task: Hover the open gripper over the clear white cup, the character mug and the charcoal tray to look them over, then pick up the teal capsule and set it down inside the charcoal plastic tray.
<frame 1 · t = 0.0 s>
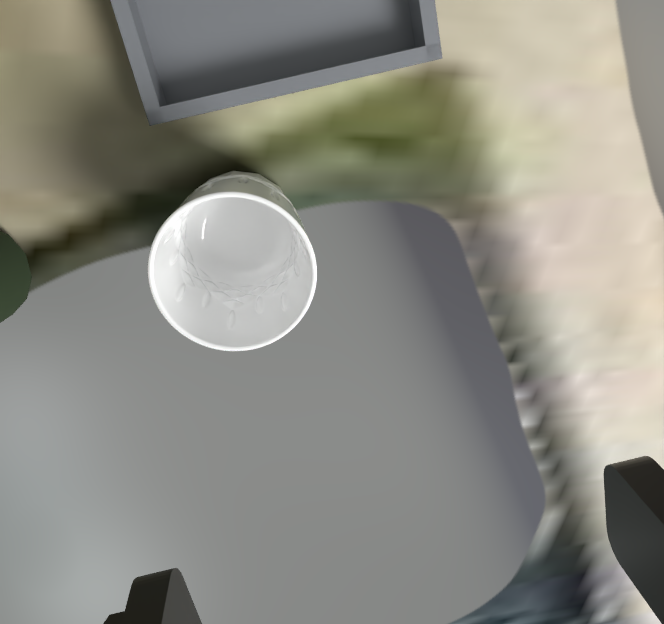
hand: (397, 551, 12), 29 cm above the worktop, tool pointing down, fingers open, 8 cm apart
white cup: (241, 224, 39), on the worktop
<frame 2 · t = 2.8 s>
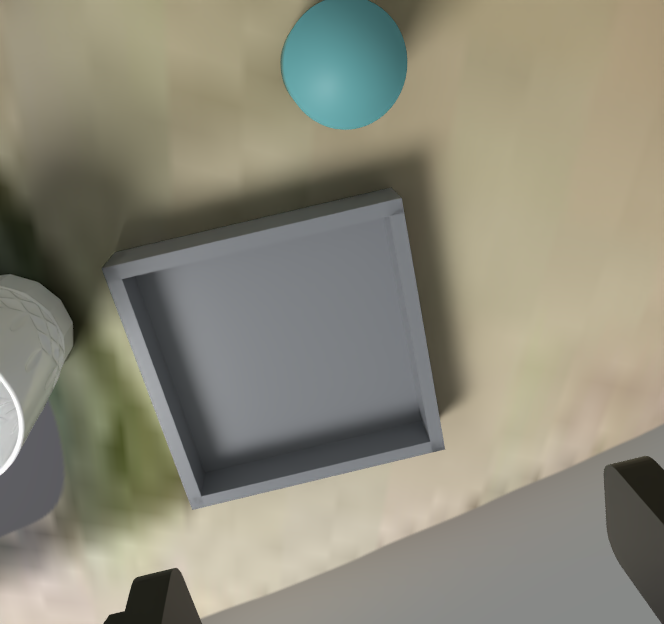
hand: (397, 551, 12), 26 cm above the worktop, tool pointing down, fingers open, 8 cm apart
tray: (286, 344, 38), on the worktop
teal capsule: (330, 65, 33), on the worktop
white cup: (15, 327, 36), on the worktop
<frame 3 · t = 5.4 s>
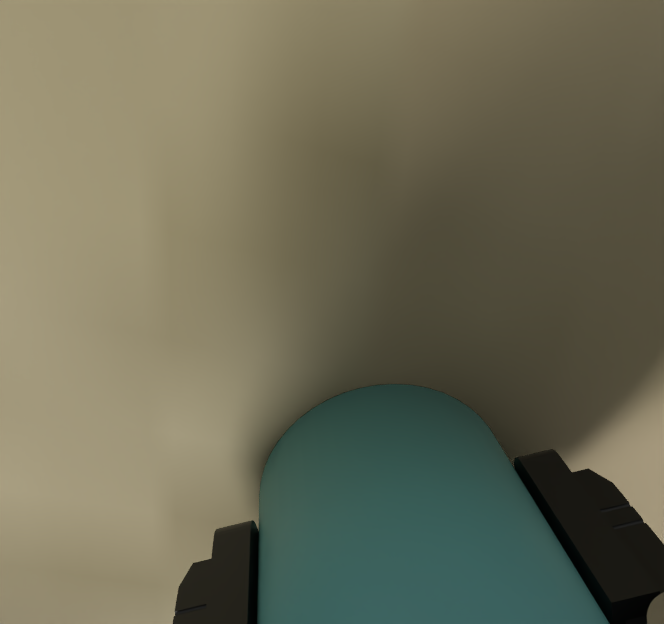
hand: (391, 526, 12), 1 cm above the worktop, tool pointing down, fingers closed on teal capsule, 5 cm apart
teal capsule: (383, 494, 13), on the worktop, touching gripper
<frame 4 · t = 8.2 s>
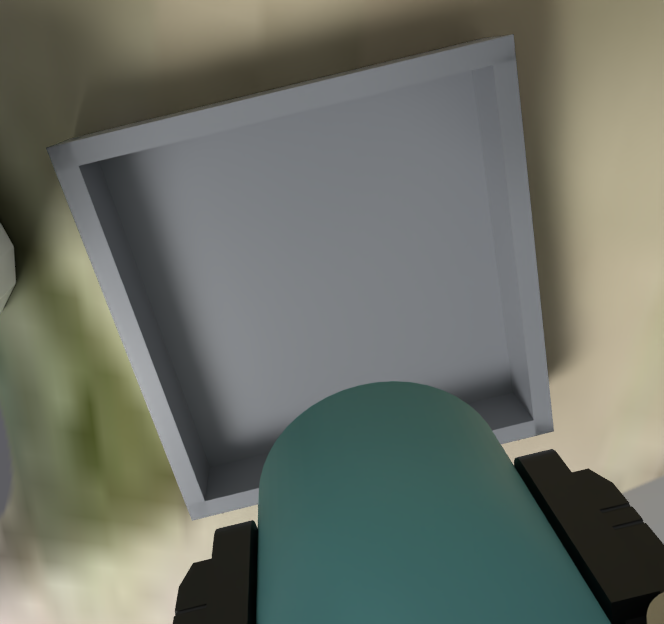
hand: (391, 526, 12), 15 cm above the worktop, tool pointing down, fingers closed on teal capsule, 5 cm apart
tray: (325, 282, 27), on the worktop
teal capsule: (383, 491, 13), point 14 cm above the worktop, touching gripper
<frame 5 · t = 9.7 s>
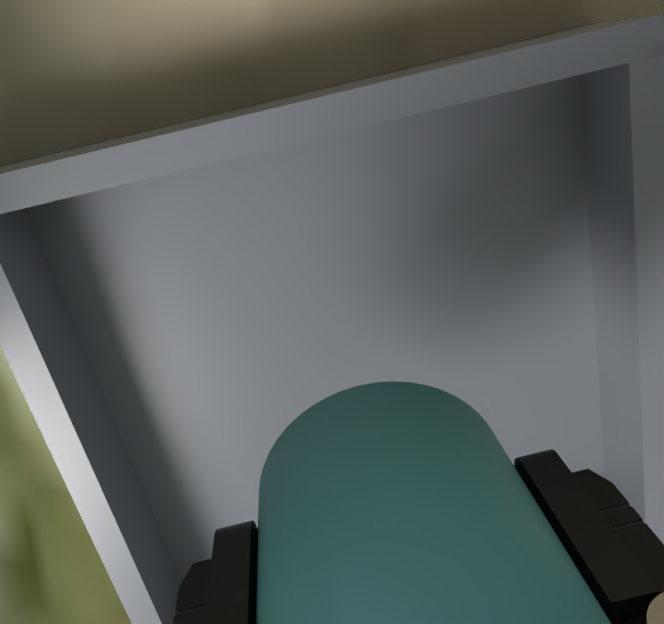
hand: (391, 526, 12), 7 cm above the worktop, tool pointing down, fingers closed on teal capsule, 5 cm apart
tray: (355, 367, 19), on the worktop
teal capsule: (383, 491, 13), point 6 cm above the worktop, touching gripper
when the fingers open (3 cm above the worktop, at t = 11.0 s): teal capsule drops 1 cm, resting on tray.
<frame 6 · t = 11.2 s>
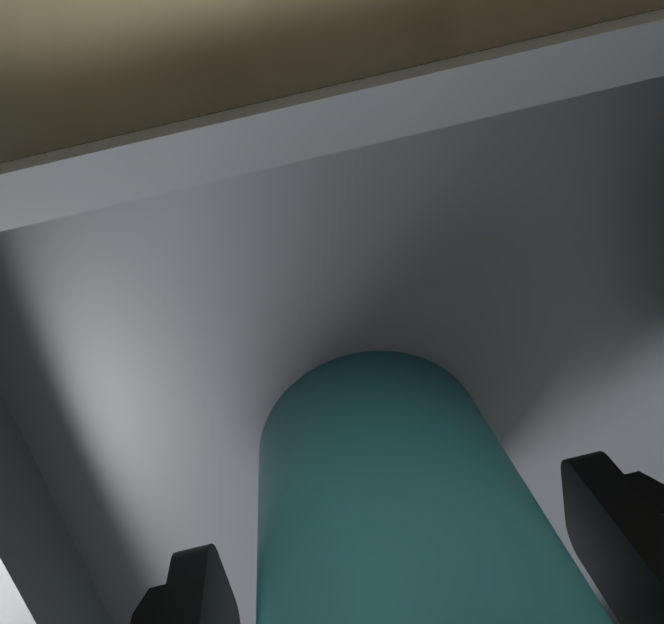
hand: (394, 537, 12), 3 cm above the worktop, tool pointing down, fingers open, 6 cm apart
tray: (367, 440, 15), on the worktop
teal capsule: (372, 453, 14), point 1 cm above the worktop, touching tray
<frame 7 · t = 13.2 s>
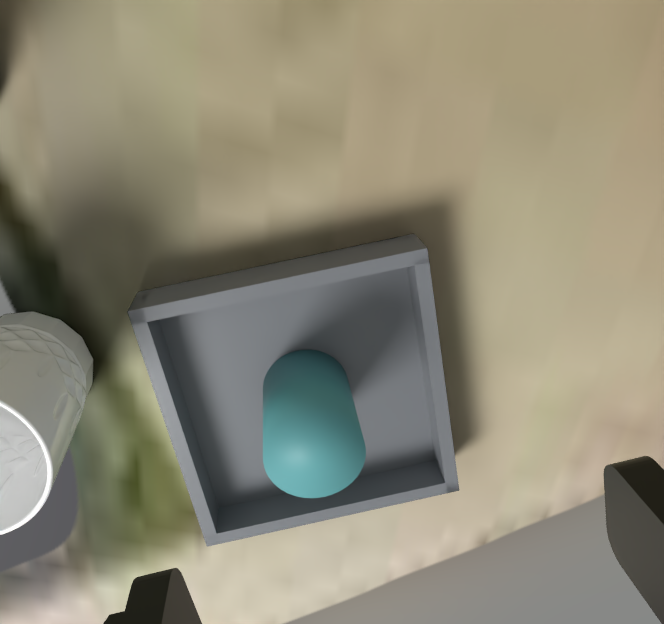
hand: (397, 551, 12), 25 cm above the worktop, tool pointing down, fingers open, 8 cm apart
tray: (305, 384, 38), on the worktop
teal capsule: (305, 388, 38), point 1 cm above the worktop, touching tray
white cup: (35, 362, 36), on the worktop
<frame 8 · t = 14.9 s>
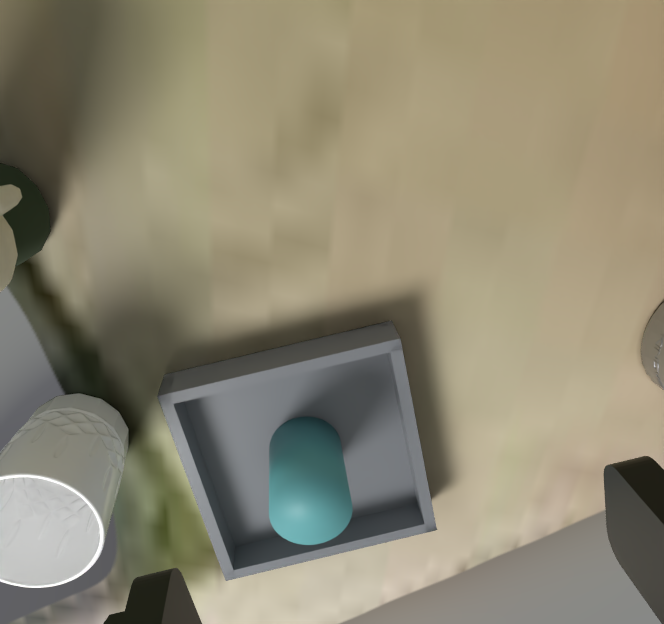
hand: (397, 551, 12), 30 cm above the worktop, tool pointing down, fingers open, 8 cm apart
character mug: (1, 211, 38), on the worktop
tray: (304, 443, 46), on the worktop
teal capsule: (305, 447, 45), point 1 cm above the worktop, touching tray
white cup: (81, 433, 44), on the worktop
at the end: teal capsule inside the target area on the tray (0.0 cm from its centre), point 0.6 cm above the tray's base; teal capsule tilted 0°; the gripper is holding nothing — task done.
